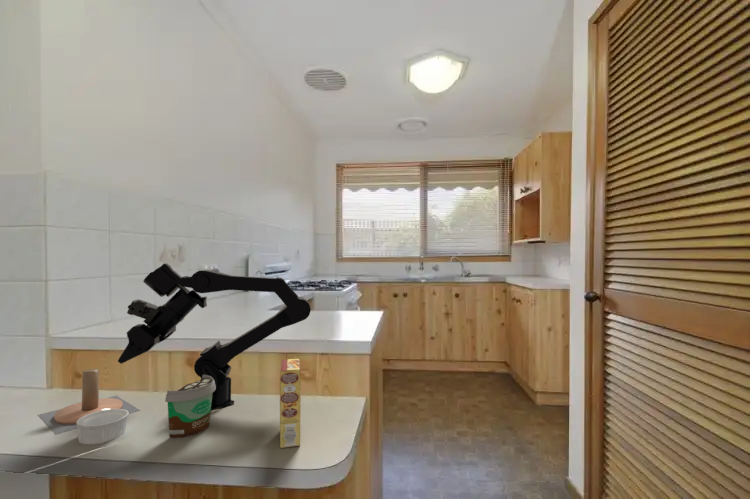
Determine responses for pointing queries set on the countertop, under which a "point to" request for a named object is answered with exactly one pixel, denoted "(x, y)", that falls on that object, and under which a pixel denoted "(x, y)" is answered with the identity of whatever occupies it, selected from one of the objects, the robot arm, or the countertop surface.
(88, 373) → the lid
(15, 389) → the countertop surface
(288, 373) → the candy box
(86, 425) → the ramekin
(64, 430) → the mat
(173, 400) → the food container
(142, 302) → the robot arm
